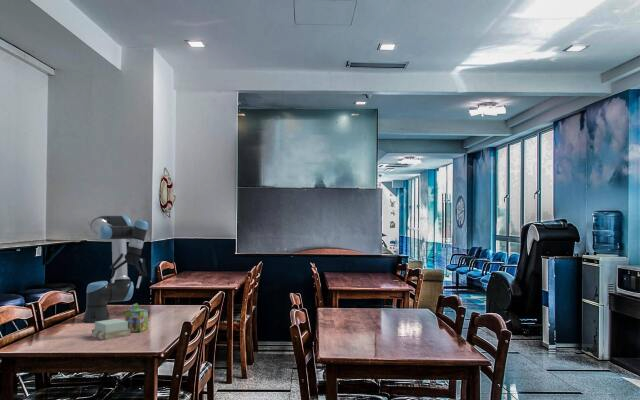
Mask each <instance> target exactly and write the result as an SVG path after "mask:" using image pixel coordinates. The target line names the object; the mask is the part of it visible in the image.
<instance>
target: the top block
mask: <svg viewBox="0 0 640 400" xmlns="http://www.w3.org/2000/svg"><path fill="white" fill-rule="evenodd" d="M94 329H95V330H99V331H102V332H106V333H107V332H113V331H119V330H125V329H128V321H125V319H124V320H123V319H119V318H112V319H111V318H110V320H104V321H97V322H95V323H94Z"/></svg>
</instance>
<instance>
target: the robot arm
mask: <svg viewBox="0 0 640 400" xmlns="http://www.w3.org/2000/svg"><path fill="white" fill-rule="evenodd" d="M89 226H90V230H91V232H93V233H94V234H98V235H100V239H101V240H111V252H112V253H111V254H112V255H111V257H112V258H111V259H112V264H111V265H110V266H109V269H111V270H112V272H111V277H112V278H111V279H110V282H108V281H107V280H100V281H93V282H90V283H89V284H88V285H87V287H86V305H85V307H86V309H85V312H84V314H83V317H82V322H84V323H88V324H89V323H91V324H92V323H94V324H95V322H97V321H104V320H111V318H110V317H111V315H110V313H109V309H108V303H116V302H117V303H118V302H125V301H126V302H127V301H130V300H131V298H132V297H133V294H134V288H136V289H139V288H140V285H141V283H142V282H143V280H144V277H148V271H147V266H146V258H141V255H142V249H143V247H144V243H145V239H146V235H147V232H148V230H149V229H148V228H149V223H148V222H147V221H145V220H141V219H136V220H135V221H134V223H133V225H132V222H131V219H130V217H129V216H127V215H100V216H97V217H95V218H93V219H92V220H91V222H90V225H89ZM127 240H129V242H128V247H127ZM139 262H140V263H141V266H140V264H139ZM128 264H129V265H134V266H135V268H136V269H137V272H138V273H139V276H138V279H137V284H136V286H135V287H134V282H133V281H131V278H130V277H129V276H128ZM141 267H142V268H141Z"/></svg>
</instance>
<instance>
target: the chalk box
mask: <svg viewBox="0 0 640 400" xmlns="http://www.w3.org/2000/svg"><path fill="white" fill-rule="evenodd" d="M132 306H133V308H131V309H127V310H125V313H124V316H125V318H124V321H128V329H131V333H141V332H144V331H147V330H148V326H149V325H148V324H149V323H148V319H149V317H148V316H149V309H147V308H139V304H138V302H136V303H133V304H132Z"/></svg>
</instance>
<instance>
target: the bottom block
mask: <svg viewBox="0 0 640 400" xmlns="http://www.w3.org/2000/svg"><path fill="white" fill-rule="evenodd" d="M131 335H132V332H131V329H125V330H119V331H113V332H107V333H106V332H102V331H99V330H95V328H93V329H91V337H93V338H95V339H101V340H103V341H108V340H113V339H114V340H115V339H118V338H119V339H120V338H126V337H130V336H131Z"/></svg>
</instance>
